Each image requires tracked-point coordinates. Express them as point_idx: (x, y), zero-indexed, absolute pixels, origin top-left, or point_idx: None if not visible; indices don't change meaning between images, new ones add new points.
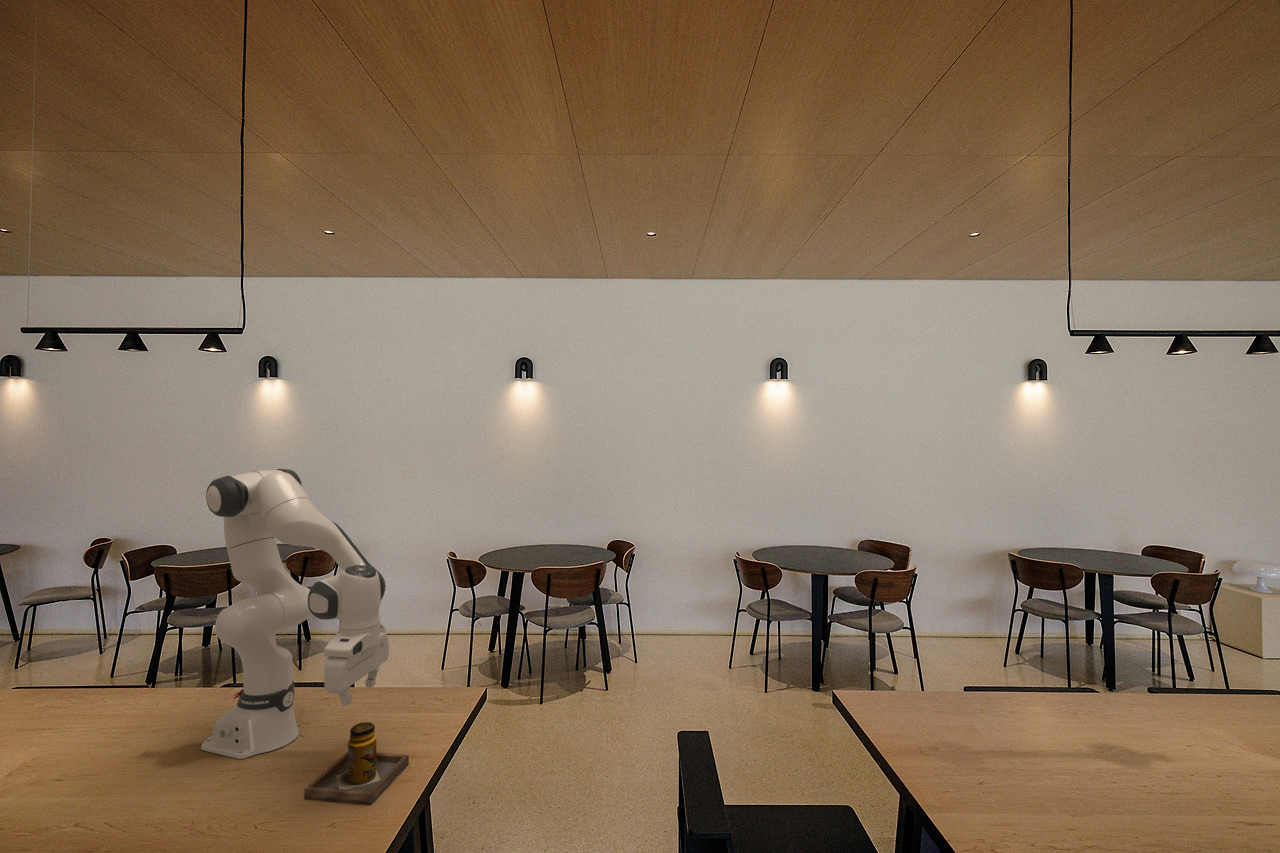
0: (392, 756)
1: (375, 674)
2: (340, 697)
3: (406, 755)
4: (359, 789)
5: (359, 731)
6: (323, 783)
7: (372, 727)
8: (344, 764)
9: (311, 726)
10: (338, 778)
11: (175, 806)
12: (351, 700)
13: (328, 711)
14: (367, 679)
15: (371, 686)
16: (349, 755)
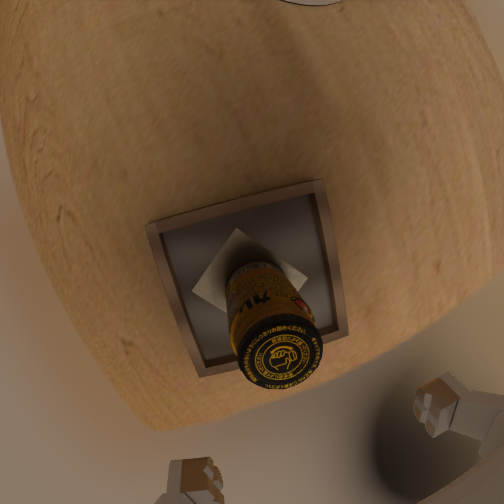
0: (335, 307)
1: (470, 434)
2: (162, 494)
3: (346, 332)
4: (219, 320)
5: (253, 372)
6: (202, 222)
7: (293, 385)
8: (286, 199)
9: (372, 6)
10: (229, 242)
11: (65, 25)
12: (219, 487)
13: (419, 9)
14: (447, 411)
15: (416, 413)
16: (229, 310)
